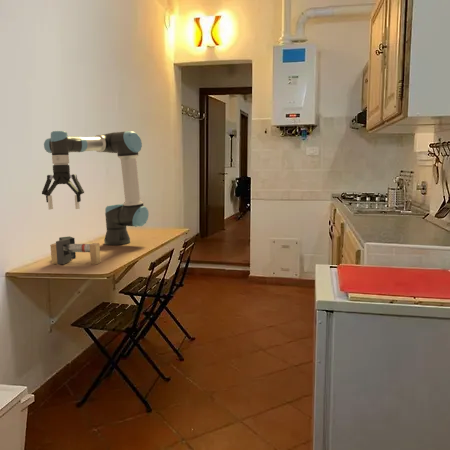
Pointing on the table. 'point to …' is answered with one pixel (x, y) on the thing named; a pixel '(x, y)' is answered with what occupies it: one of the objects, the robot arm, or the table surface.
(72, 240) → the box
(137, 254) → the table surface
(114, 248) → the table surface
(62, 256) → the collar
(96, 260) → the pipe
